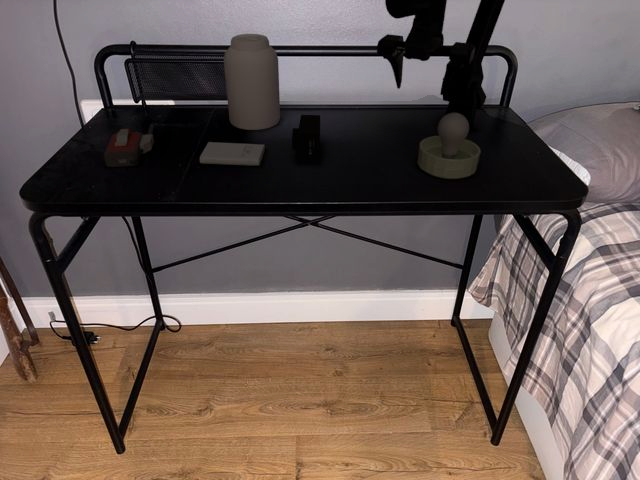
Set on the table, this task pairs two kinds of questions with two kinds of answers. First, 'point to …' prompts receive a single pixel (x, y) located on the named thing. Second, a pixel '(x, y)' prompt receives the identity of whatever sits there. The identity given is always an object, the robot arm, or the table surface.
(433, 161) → the bowl
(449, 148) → the lightbulb
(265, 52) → the wide mouth jar
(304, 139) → the digital camera
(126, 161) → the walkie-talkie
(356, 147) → the table surface
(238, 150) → the hard drive
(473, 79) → the robot arm
